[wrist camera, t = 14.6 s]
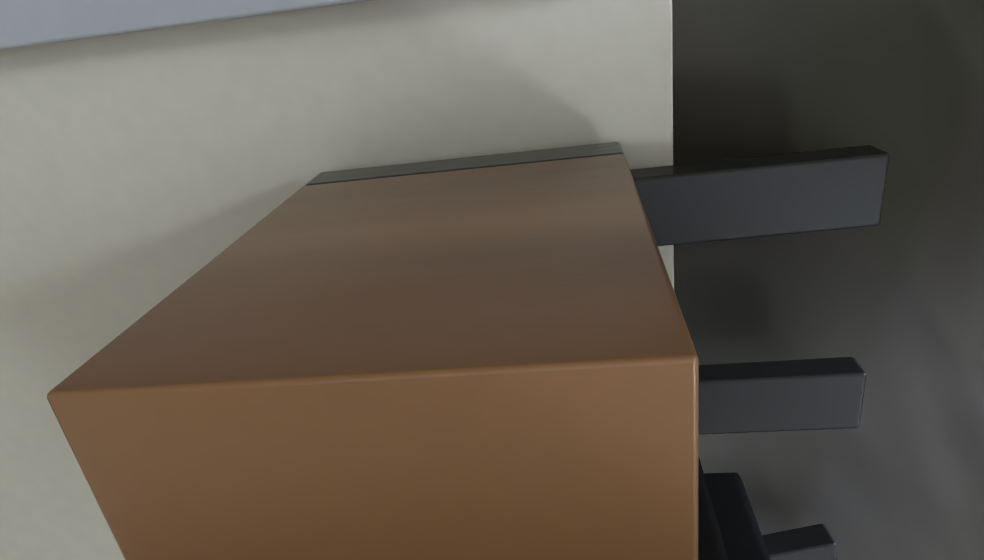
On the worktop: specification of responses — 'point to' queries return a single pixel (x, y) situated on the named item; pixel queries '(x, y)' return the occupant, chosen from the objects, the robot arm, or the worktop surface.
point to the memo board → (250, 160)
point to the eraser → (409, 378)
